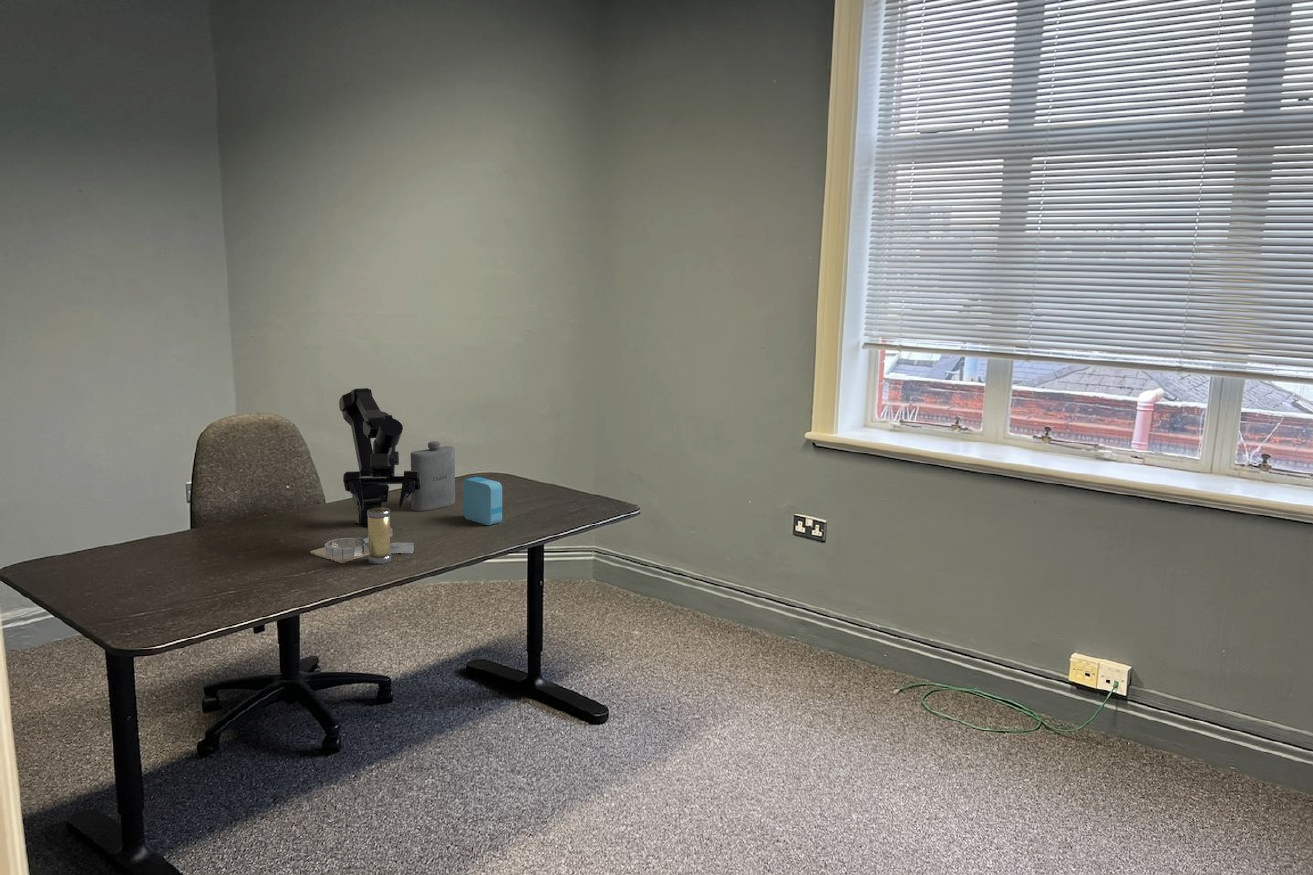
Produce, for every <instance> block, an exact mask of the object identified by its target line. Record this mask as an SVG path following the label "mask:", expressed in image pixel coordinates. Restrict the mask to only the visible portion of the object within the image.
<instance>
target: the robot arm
mask: <svg viewBox="0 0 1313 875" xmlns="http://www.w3.org/2000/svg"><path fill="white" fill-rule="evenodd" d="M338 406H339V410H340V412H341V414H342V417H343V420H344V421H345V422H346V423H347V424H348V425H350V428H351V433H352V438H353V443H354V448H355V454H356V455H355V456H356V459H357V465H358V470H359V471H345V473H343V478H342V482H343V485H344V491H345V492H349V493H350V494H351V496H352V502H353V503H354V505H356V506H358V507H357V508H358V520H355V521H354V523H353V524H356V525H358V526H362V527H366V528H368V516H367V510H369V509H371V508H379V507H382V508H383V503H388V498H389V490H390V486H389V485H401V490H400V497H399V504H398V505H399V506H398V507H399V508H398V509H399V511H401V510H402V509H403V507H404V505H405V503H406V501H407V499H408V498H409V497H410V496H411V493H414V492H415V490H420V489H421V480H420V472H419V471H418V470H416V471H411V470H403V475H398V476H397V475H395V471H396V470H395V468H396V467H395V466H398V465H400V454H399V453H400V452H399V451H397V450H396V446H397V445H398V444H399V442H400V439H401V436H402V433H403V431H404V430H403V428H404V426H403V423H401V422H400V421H399V420H398V419H396V418H393V415H392V414H389V413H387V412H385V411H382V410H381V409H380V407H379V405H378V404H377V402H376V400H375V399H374V396H373V392H372V389H371V388H368V387H366V388H365V387H363V388H362V387H361V388H354V389H351V390H350V391H349V392H347V393H344V394H343V395H341V397H340V399H339V401H338ZM371 439H374V440H373V443H372V441H371Z"/></svg>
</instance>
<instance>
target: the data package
mask: <svg viewBox="0 0 1313 875" xmlns="http://www.w3.org/2000/svg"><path fill="white" fill-rule="evenodd" d="M462 503H463V504H462V506H463V507H462V509H463V511H462V512H463V513H462V514H463V516H464V517H463V518H465V519H466V520H467V521H471V520H472V522H474V521H475V522H476V523H478V524H481V525H486V526H491V525H495V524H499V523H501V522H502V520H503V486H502V484H501V483H500V482H499V481H496V480H491V479H488V478H484V477H479V476H474V477H471V478H465V479H463V481H462Z"/></svg>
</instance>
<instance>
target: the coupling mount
mask: <svg viewBox="0 0 1313 875" xmlns="http://www.w3.org/2000/svg"><path fill="white" fill-rule="evenodd" d="M393 535H394V534H393V528H392V527H390V538H392V537H393ZM390 543H391V555H392V554H396V553H397V555H398V553H401V554H413V552H414V542H390ZM310 553H311V554H310ZM309 554H310V555H313V554H314V556H317V557H320V558H323V559H327V560H329V559H331V560H330V561H333V560H334V561H333V562H337V563H340V564H343V563H346V562H350V561H352V560H355V559H360V558H363V557H366V556H369V541H368V533H366V534H364V535H361V536H359V537H340V538H334V539H331V540H328V541H327V542H326V543H324V547H320V548H317V549H313V550H310V551H309ZM349 560H350V561H349Z"/></svg>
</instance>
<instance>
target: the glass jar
mask: <svg viewBox="0 0 1313 875" xmlns="http://www.w3.org/2000/svg"><path fill="white" fill-rule="evenodd" d="M367 516H368V527H367V534H368V541H369V555H368V563H369V564H371V565H385V564H389V563H390V562H392V554H391V543H392V542H391V537H390V528H391V519H390V518H391V508H388V507H383V506H382V507H379V508H371V509H369V510H367Z"/></svg>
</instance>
